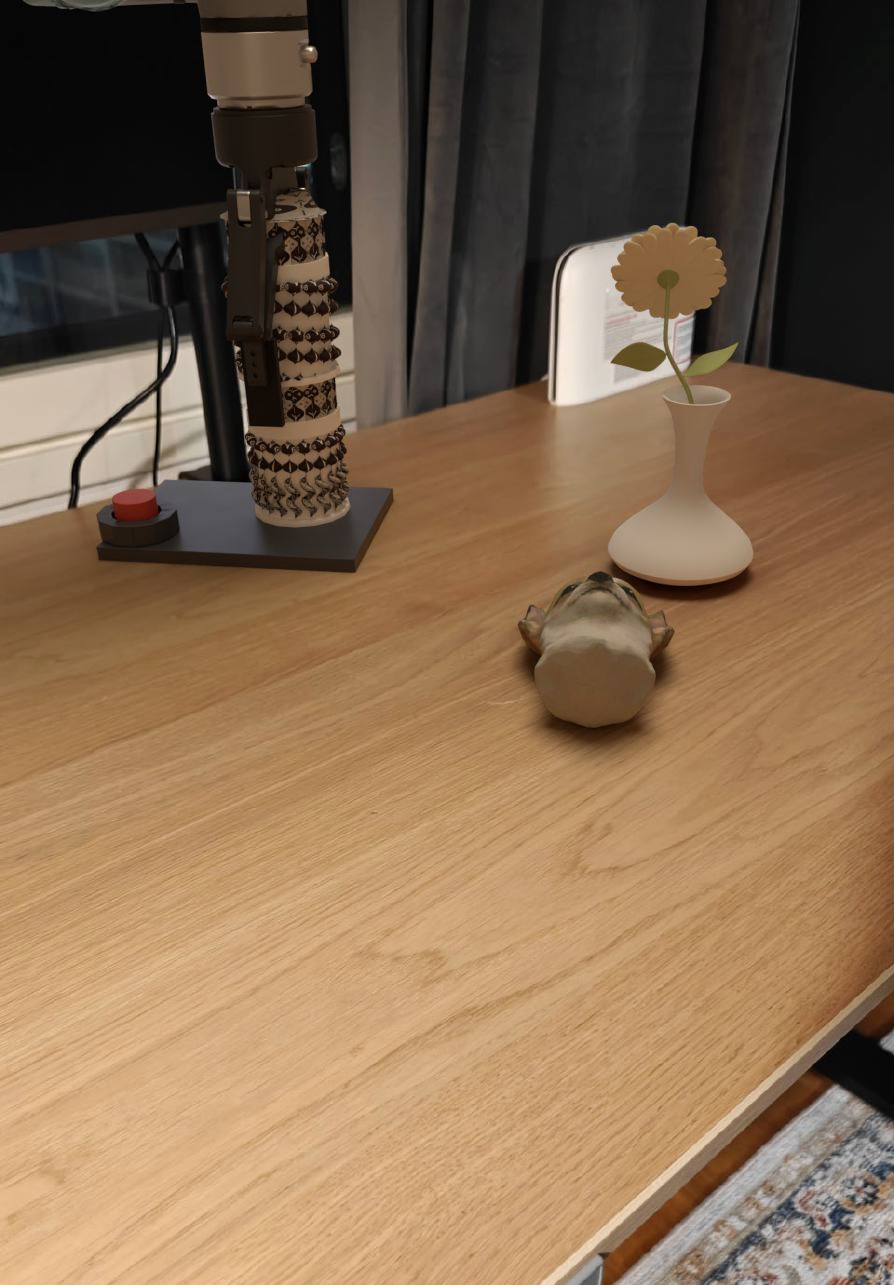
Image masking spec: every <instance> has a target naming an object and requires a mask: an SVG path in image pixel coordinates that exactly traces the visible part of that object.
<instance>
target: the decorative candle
mask: <svg viewBox="0 0 894 1285" xmlns="http://www.w3.org/2000/svg"><path fill="white" fill-rule="evenodd" d="M325 214H327V211H326V209H324V208H320V207H319V206H318V205H317V203H316V201H315V200H314V198H313V197H312V195H310V194H309V193H308V192H307V191H306V190H304V189H301V188H295V187H292V189H290V191H289V192H288V193H285V194H281V195H277V197H276V205H275V216H274V218H273V219H271V220H266V238H273V237H275V236H276V234H277V230H278V229H280V228H281V229H283V230H284V235H285V239H284V242H285V251H286V252H285V254H284V255H283V256H282V257H280V259H279V266H278V276H277V286H276V295H275V305H274V314H273V324H272V336H271V338H277V347H278V357H279V367H280V377H281V387H282V397H283V407H284V417H285V425H284V426H283V427H258V426H249V419H248V411H247V408H245V413H246V414H245V415H246V421H247V422H246V423H247V431H246V433H245V434H244V440H245V441H246V445H247V446H248V447H250V449H249V450H248V451H247V453H246V457H247V459H248V462H249V463H250V464H251V465H253V466H252V468H251V469H250V470H249V473H248V477H249V480H250V483H252V484H253V486H254V487H253V489H252V497H253V499H254V501H255V503H256V504H255V514H256V517H257V518H259V519H260V520H261V521H263V522H264V523H268V524H272V525H275V526H281V527H296V528H297V527H308V526H317V525H321V524H325V523H329V522H333V521H335V520H337V519H339V518H341V517H343V516H345V515H346V513H347V512H348V511H349V509H350V503H349V500H348V497H347V496H348V494H347V492H349V490H350V487H351V486H350V485H348V483H349V482H348V481H349V480H348V479H347V476H348V475H349V474H350V470H349V468H348V467H347V466H348V465H347V463H346V461H345V460H344V458H345V455H346V454H347V453H348V449H347V447H346V445H345V443H344V442H343V440H344V437H345V436H346V434H347V433H346V432H347V431H346V429H345V427H344V424H342V421H341V408H340V404H339V402H338V399H337V397H338V396H337V395H338V394H337V384H336V383H337V382H336V377H337V376H338V375H339V374H340V373H341V366H340V364H339V362H338V360H337V359H338V358H339V357H341V356H342V350H341V348H339V347H338V346H336V345H335V344H334V343H333V342H334V340H336V339H337V338H339V336H340V334H341V331H340V328H339V327H337V326H335V325H334V324H333V323H332V322H331V323H330V317H331V316H332V315H334V314H335V313H336V312H337V311H339V310H340V308H341V305H340V302H338V301H337V300H335V299H334V298H333V297H332V296H331V295H333V293H334V292H335V291H337V290H338V288H339V282H338V280H336V279H335V278H333V277H332V276H331V272H330V260H329V258H330V257H329V254H328V252H327V250H326V237H325V225H324V215H325ZM219 218H220V219H221V220H224V223H225V232H226V239H227V242H228V238H229V222H228V210H226V212H223V213H221V214H220V215H219ZM244 225H245V226H246V227H250V226H251V224H244ZM227 282H228V274H227V276H225V278H224V279H223V283H222V284H221V286H220V288H221V291H222V292H223V295H224V297H225V298H226V299H227ZM328 292H329V294H330V297H329V295H327V293H328ZM251 320H252V319H251ZM231 343H232V346H235V347H237V348H239V349H238V350H237V351H236V353H235V358H234V360H233V361H234V364H235V366H236V367H237V375H238V380H240V381H242V382H244V377H243V368H242V360H241V351H240V343H239V341H234V340H231ZM332 343H333V344H332Z"/></svg>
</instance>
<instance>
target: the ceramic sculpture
mask: <svg viewBox="0 0 894 1285" xmlns="http://www.w3.org/2000/svg"><path fill="white" fill-rule="evenodd" d="M517 627H518V631H519V633H520V635H521V638H522V640H523V641H524V643H525V644H526V646H528V647H529V648H530V649H532V650H533V651H534V652H536V653H537V654H538V655H540V656H541V657H539V659H538V662H537V663H536V665H535V666H534V670H533V672H534V674H533V675H534V676H533V677H534V681H535V686H536V688H537V691H538V694H539V696H540V698H541V700H542V702H543V704H544V705H545V706H546V708H547V710H548V711H549V712H550V713H551V714H552V715H553V716H554V717H555V718H558V719H560V720H562V721H566V722H571V723H574V724H576V725H579V726H582V727H585V728H590V729H591V728H593V729H596V728H599V727H605V726H609V725H613V724H621V723H624V722H627V721H628V720H631V719H632V718H634V717H635V715H636V714H638V713H639V711H640V710H641V709H642V708H643V707H644V706H645V704H646V702H647V701H648V699H649V697H650V695H651V693H652V690H653V689H654V686H655V683H656V678H657V675H656V670H655V669H654V666H653V664H652V662H651V661H650V660H651V659H653V658H655V657H656V656H658V655H660V653H663V651H665V649H666V648H668V647H669V644H670V642H672V639H673V637H674V634H675V629H674V627H672V626H670V625H668V623H667V620H666V615H665V612H664V610H663V609H660V610H658V611H656V612H655V613H652V614H649V615H648V613H647V610H646V608H645V605H644V601H643V599H642V597H641V595H640V593H639V592H638V591H637V590H636V588H635V587H633V586H632V585H631V584H630V583H629V582H627V581H625V580H623V579H621V578H618V577H613V576H611V574H609V573H607V572H605V571H602V570H599V571H595V572H592V573H591V574H590V575H588V576H579V577H576V578H573V579H572V580H570V581H568V582H567V583H565V584H563V585H562V586H561V587H560V588H559V589H558V590H557V592H556V593H555V595H554V597H553V599H552V601H551V603H550V605H549V607H548V609H547V610H543V609H541V608H538V607H536V605H534V604H532V603H531V604H529V605H528V608H527V611H526V614H525V617H523V619H520V620H519V621H518V623H517Z"/></svg>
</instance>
